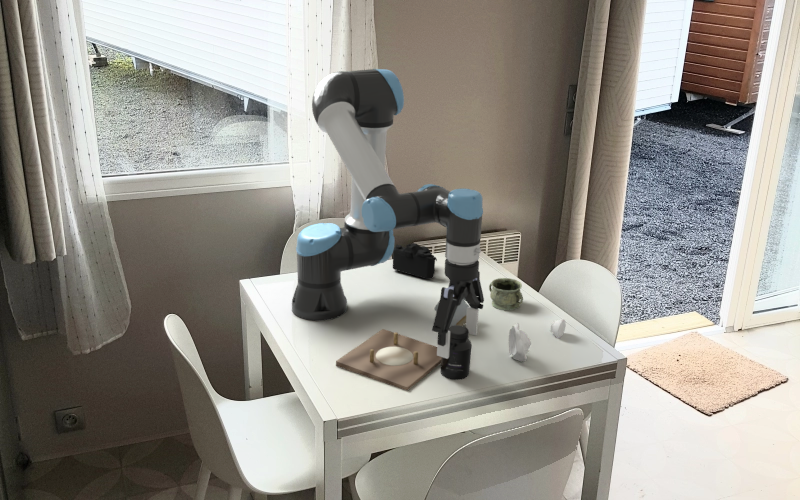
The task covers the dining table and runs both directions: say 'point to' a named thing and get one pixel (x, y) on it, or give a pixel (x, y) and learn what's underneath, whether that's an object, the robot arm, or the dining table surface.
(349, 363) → the pin board
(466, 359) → the supplement bottle
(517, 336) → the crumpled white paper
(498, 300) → the vessel
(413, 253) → the film camera
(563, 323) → the white irregular lump
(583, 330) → the dining table surface
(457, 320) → the ceramic mug
